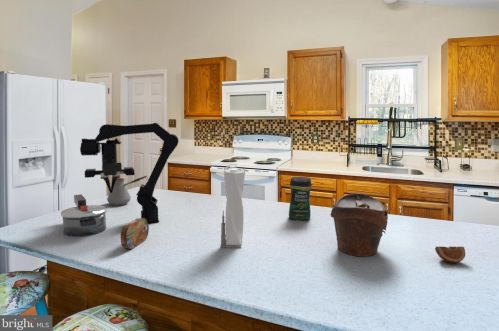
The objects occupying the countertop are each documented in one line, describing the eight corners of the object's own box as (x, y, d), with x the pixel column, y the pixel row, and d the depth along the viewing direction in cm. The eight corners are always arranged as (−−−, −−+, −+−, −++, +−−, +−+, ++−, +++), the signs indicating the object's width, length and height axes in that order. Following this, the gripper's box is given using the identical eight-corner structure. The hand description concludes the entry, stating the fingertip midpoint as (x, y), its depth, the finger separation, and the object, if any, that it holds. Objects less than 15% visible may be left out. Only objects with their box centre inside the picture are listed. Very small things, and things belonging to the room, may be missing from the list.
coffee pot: (102, 206, 172) (101, 176, 170) (114, 201, 184) (113, 173, 182) (143, 207, 170) (142, 177, 168) (152, 202, 181) (151, 174, 179)
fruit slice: (439, 265, 104) (441, 249, 104) (429, 256, 111) (430, 241, 110) (468, 266, 104) (470, 250, 103) (456, 257, 110) (458, 242, 110)
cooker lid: (110, 214, 132) (110, 204, 132) (63, 221, 123) (62, 210, 123) (98, 201, 153) (97, 192, 152) (57, 206, 144) (56, 197, 143)
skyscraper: (223, 239, 126) (222, 163, 122) (245, 239, 126) (245, 163, 122) (220, 247, 118) (220, 166, 114) (244, 248, 117) (244, 166, 114)
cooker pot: (111, 234, 130) (110, 216, 129) (66, 242, 122) (65, 222, 121) (99, 218, 152) (98, 202, 151) (60, 223, 144) (59, 207, 143)
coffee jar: (288, 220, 150) (289, 178, 148) (289, 215, 158) (289, 175, 155) (310, 221, 149) (312, 178, 146) (310, 216, 156) (311, 175, 154)
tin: (127, 252, 113) (126, 227, 112) (119, 252, 114) (118, 227, 112) (149, 237, 128) (149, 215, 126) (142, 236, 128) (141, 214, 127)
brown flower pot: (356, 265, 103) (360, 207, 101) (318, 244, 122) (320, 194, 120) (400, 257, 111) (405, 202, 108) (358, 238, 129) (360, 190, 127)
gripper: (82, 158, 130) (85, 198, 132) (134, 156, 137) (136, 195, 139) (84, 155, 140) (86, 193, 142) (132, 153, 147) (134, 189, 149)
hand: (111, 192), depth 143 cm, fingers closed
